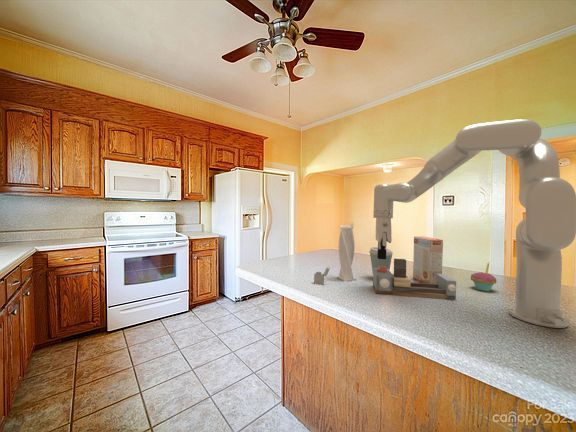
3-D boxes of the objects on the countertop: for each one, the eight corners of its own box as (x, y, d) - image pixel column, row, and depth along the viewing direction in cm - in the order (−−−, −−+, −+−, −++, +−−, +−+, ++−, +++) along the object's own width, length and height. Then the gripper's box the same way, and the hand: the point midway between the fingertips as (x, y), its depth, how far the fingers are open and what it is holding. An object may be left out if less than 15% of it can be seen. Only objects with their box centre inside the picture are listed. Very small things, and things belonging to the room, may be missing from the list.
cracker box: (442, 287, 103) (443, 239, 102) (428, 287, 103) (429, 239, 102) (424, 278, 117) (425, 236, 116) (412, 278, 117) (413, 236, 116)
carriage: (410, 287, 93) (410, 261, 92) (394, 286, 94) (394, 261, 94) (405, 281, 101) (405, 257, 100) (389, 280, 102) (390, 257, 102)
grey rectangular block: (456, 300, 88) (456, 281, 88) (447, 299, 89) (447, 281, 88) (444, 291, 98) (444, 274, 98) (436, 290, 99) (436, 273, 99)
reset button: (386, 277, 97) (386, 267, 97) (379, 276, 98) (379, 266, 97) (385, 275, 100) (385, 265, 100) (378, 274, 100) (378, 265, 100)
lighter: (313, 283, 108) (314, 265, 107) (315, 282, 109) (315, 265, 109) (329, 285, 105) (329, 267, 105) (330, 284, 106) (330, 266, 106)
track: (455, 299, 89) (455, 291, 88) (376, 293, 95) (376, 286, 94) (444, 291, 98) (444, 283, 98) (372, 286, 104) (373, 279, 104)
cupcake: (486, 286, 104) (487, 259, 104) (502, 293, 96) (502, 263, 96) (465, 286, 105) (466, 259, 105) (479, 292, 97) (480, 263, 96)
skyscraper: (359, 281, 112) (359, 222, 111) (344, 283, 109) (345, 222, 108) (348, 276, 120) (349, 221, 119) (334, 278, 117) (335, 221, 116)
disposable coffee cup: (393, 278, 117) (394, 247, 117) (390, 283, 108) (391, 250, 107) (371, 275, 122) (371, 246, 122) (366, 280, 113) (367, 248, 113)
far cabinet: (392, 295, 93) (393, 275, 92) (376, 294, 94) (376, 274, 94) (387, 287, 103) (387, 268, 103) (372, 286, 104) (373, 267, 104)
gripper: (397, 215, 90) (395, 263, 91) (389, 214, 105) (387, 255, 105) (376, 214, 92) (374, 262, 92) (371, 214, 106) (369, 254, 107)
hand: (381, 258), depth 99 cm, fingers closed
